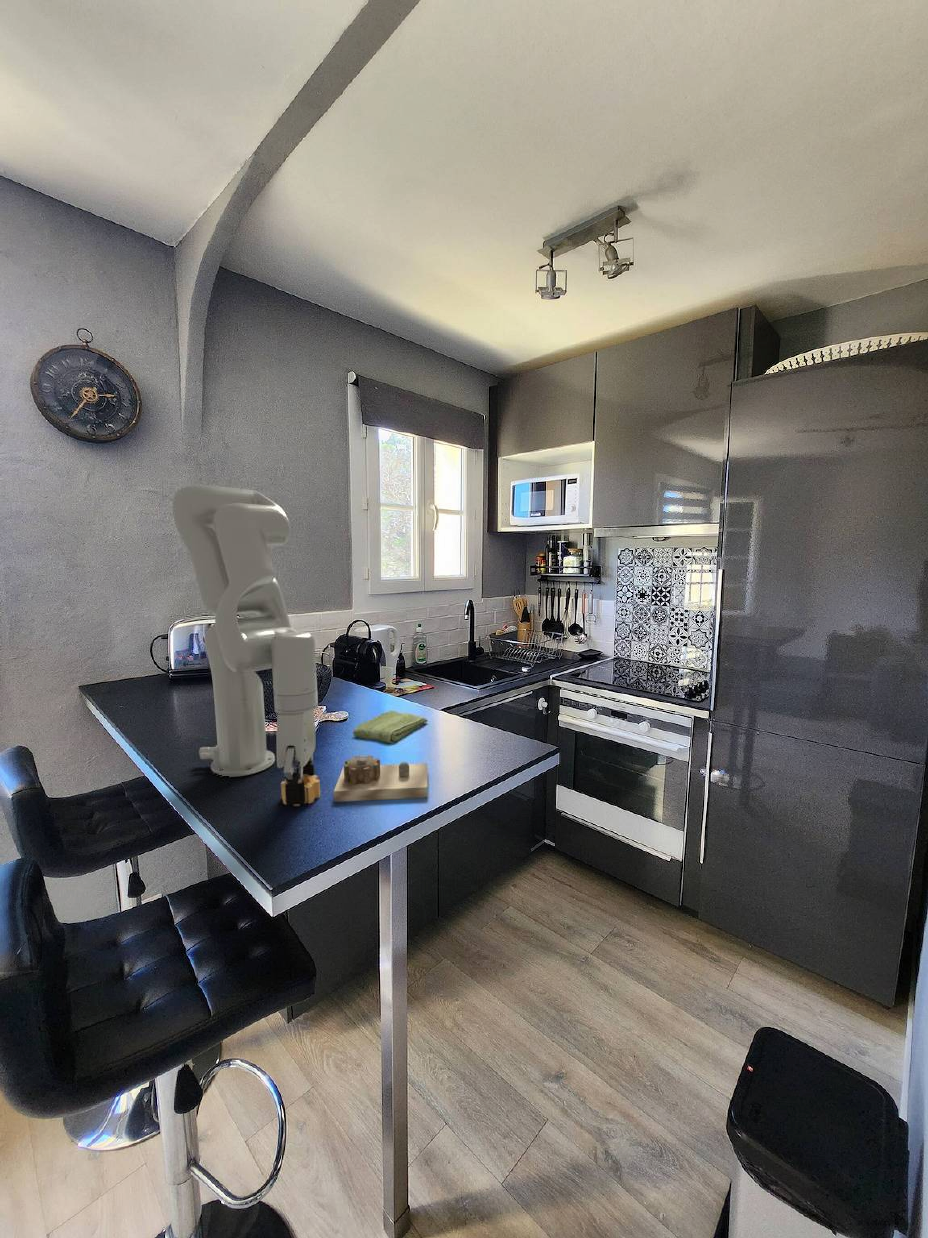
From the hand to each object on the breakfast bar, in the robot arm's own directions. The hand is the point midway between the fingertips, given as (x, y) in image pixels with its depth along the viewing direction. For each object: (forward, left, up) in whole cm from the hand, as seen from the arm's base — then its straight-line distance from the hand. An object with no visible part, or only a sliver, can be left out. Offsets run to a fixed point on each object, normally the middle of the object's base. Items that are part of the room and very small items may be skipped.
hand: (301, 793), depth 93 cm
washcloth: (+14, +36, -2) cm, 39 cm away
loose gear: (0, 0, -1) cm, 1 cm away
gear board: (+15, +3, -1) cm, 15 cm away
